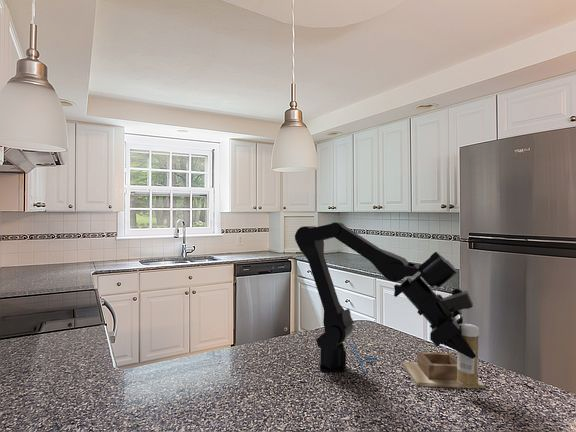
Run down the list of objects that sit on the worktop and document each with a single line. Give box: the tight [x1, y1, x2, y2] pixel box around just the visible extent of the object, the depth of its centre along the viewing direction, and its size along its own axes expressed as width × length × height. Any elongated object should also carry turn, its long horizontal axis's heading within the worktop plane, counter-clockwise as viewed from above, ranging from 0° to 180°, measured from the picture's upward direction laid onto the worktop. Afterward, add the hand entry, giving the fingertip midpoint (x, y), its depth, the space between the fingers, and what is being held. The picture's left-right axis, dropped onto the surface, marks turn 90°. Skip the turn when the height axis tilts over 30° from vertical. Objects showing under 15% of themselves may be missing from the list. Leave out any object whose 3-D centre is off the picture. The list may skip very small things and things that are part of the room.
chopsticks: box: [349, 339, 378, 374], centre depth 106 cm, size 1×25×5 cm
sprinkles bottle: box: [456, 323, 480, 389], centre depth 84 cm, size 5×5×13 cm
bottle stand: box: [402, 351, 485, 389], centre depth 94 cm, size 16×13×4 cm
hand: (474, 354), depth 83 cm, fingers closed on sprinkles bottle, 4 cm apart
